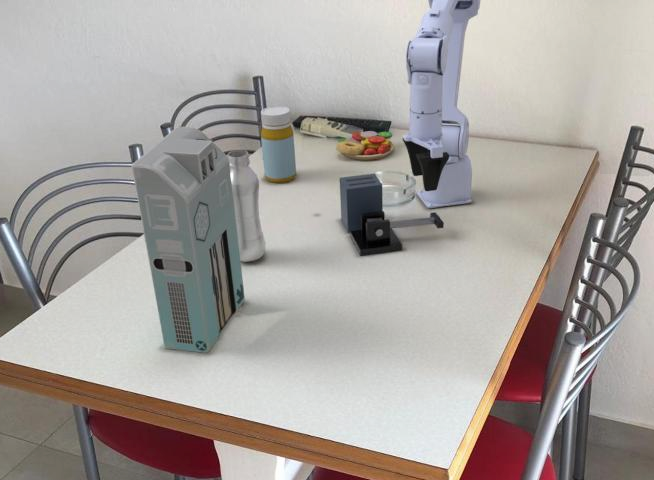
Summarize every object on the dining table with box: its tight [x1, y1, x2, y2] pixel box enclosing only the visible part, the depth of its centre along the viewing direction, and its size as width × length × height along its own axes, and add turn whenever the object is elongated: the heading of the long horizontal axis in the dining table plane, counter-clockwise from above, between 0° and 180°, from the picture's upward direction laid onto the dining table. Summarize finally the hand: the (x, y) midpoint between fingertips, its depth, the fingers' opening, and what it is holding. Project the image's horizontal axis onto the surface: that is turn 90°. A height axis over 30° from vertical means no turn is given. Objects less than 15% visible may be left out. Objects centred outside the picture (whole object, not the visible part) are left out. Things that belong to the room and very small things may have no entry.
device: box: [131, 125, 246, 354], centre depth 133 cm, size 16×8×30 cm, turn 165°
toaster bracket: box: [349, 210, 403, 257], centre depth 162 cm, size 8×8×5 cm
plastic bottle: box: [227, 149, 266, 263], centre depth 155 cm, size 6×7×20 cm
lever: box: [367, 211, 445, 229], centre depth 163 cm, size 14×5×2 cm, turn 102°
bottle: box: [260, 105, 297, 184], centre depth 188 cm, size 7×7×15 cm
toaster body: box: [339, 173, 384, 234], centre depth 168 cm, size 7×6×9 cm
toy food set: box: [335, 130, 395, 161], centre depth 203 cm, size 13×13×3 cm
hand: (424, 182), depth 161 cm, fingers open, 7 cm apart
